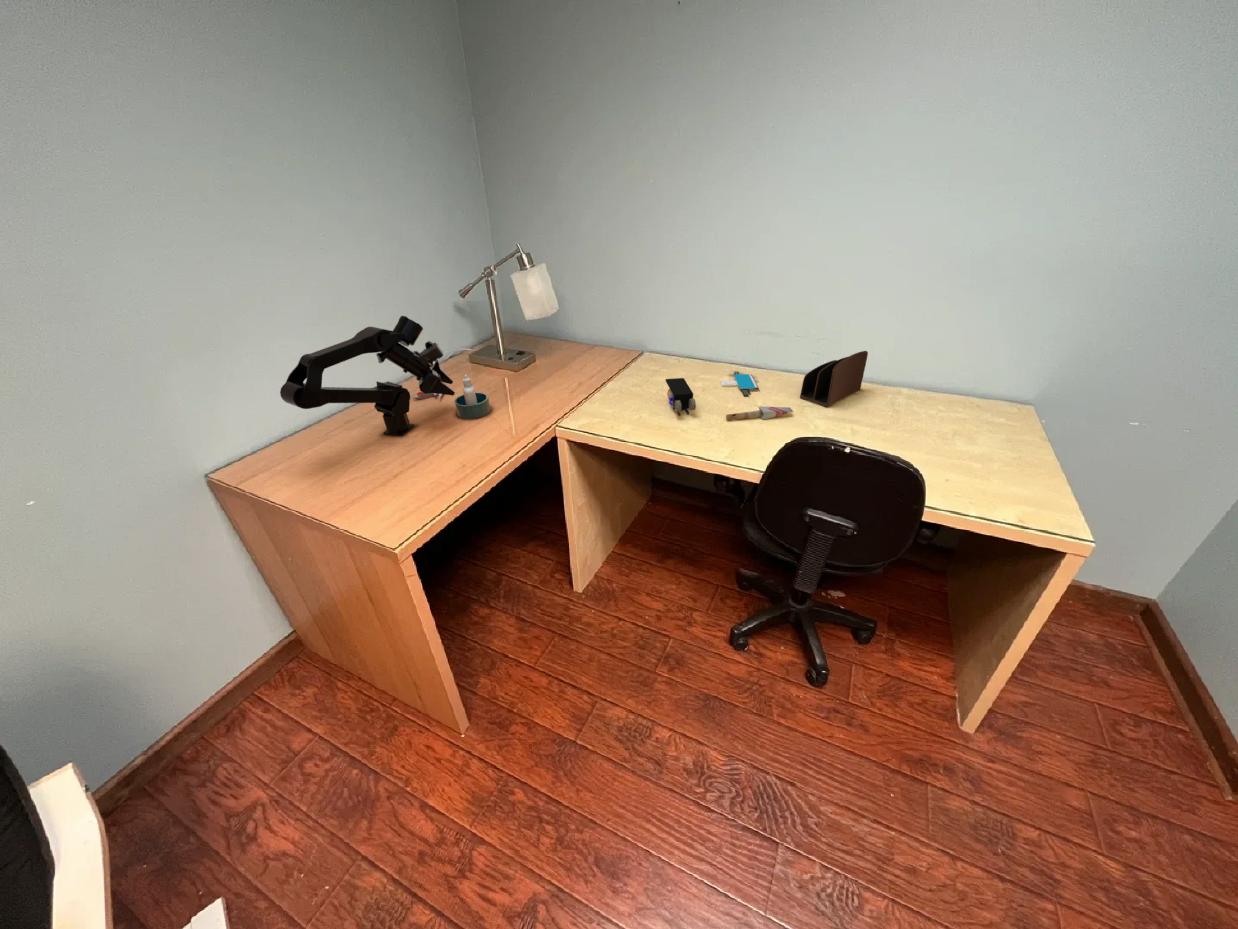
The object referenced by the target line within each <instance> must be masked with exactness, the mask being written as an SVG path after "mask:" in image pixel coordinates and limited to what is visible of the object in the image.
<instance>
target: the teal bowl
mask: <svg viewBox="0 0 1238 929" xmlns="http://www.w3.org/2000/svg"><path fill="white" fill-rule="evenodd" d="M475 394H476V399H477V404H475V405H467V406H466V402H465V397H464V393H463V394H460V395H458V396H457V397H456V398H455V399H454V407H455V410H456V414H457V416H458V417H459V418H460V419H463V420H475V419H480V418H483V417H485V416H487V415H488V414H490V413H491V405H490V399H489V396H488V394H486V393H484V392H481V391H480V392H479V391H475Z"/></svg>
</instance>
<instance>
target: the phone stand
mask: <svg viewBox="0 0 1238 929" xmlns="http://www.w3.org/2000/svg"><path fill="white" fill-rule="evenodd" d="M733 377H734V380H720V382H719V383H720V386H721V387H722V388H724V387H737V388H738V389H740V391H741V394H742V396H743V397H744V398H745V397H749V395H752V393H751V392H760V391H761V390H760V387H759V384H758V382H757V381H756V378H755V377H754V376H753V374H752V373H751V374H748V373H740V372H739V371H738V370H736V371H735V370H734V371H733Z"/></svg>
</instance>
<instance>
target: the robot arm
mask: <svg viewBox="0 0 1238 929" xmlns="http://www.w3.org/2000/svg"><path fill="white" fill-rule="evenodd" d="M423 331H424V327H423V326H422V325H421V323H418V322H416V321H414V320H412V319H410V318H409V317H407V316H406V315H400V317H399V319H398V321H397V323H396V324H395V326H394V327H393V330H389V329H386V328H380V327H375V326H367V327H364V328H363V329H361V330H360V331H358V332H357V333H356V334H355V335H354V336H353V337H352V338H349V339H347V340H344V341H341V342H339V343H336V344H333V345H330V346H328V347H327V346H326V347H324V348H322V349H319V350H317V351H314V352H311V353H305V354H303V355H301V357H300V358H299V361H298V363H297V365H296V366H295V368H293V369H292V371H291V372H290V373H289V374H288V377H287V378H286V381H285V382H284V384H282V386H281V387H280V390H279V394H280V398H281V399H282V400H283V402H284V403H287V404H289V405H291V406H293V407H297V408H300V409H303V410H309V409H316V408H320V407H323V406H325V405H328V404H374V406H373V407H374V409H375V410H376V411H377V412H378V413H382V419H383V422H384V425H385V429H386V430H385V431H383V435H387V436H397V437H398V436H400V437H402V436H403V437H404V436H405V435H406V434H407V433H408V432H409V431H411V429H414V427H415V424H414V423H410V420H409V417H408V414H407V413H410V406H411V405H410V404H411V402H410V400H411V392H410V391H409V389H408V388H405V387H403V385H402V384H398V383H396V382H395V383H394V382H391V381H384V382H381V381H375V383H376V386H374V387H341V386H340V387H338V386H337V387H335V386H322V385H323V374H324V371H325V370H326V369H328V368H331V367H333V366H336V365H339V364H342V363H344V362H346V361H349V360H352V359H353V358H356V357H359V356H361V355H365V354H375V356H376V357H377V362H378V364H382V363H384V362H385V361H386V360H387V361H389V362H391V363H393V364H394V365H396V366H397V367H399V368H401V369H402V372H403V373H405V374H407V373H409V374H410V375H412V376H414V377H415V380H417V381H418V388H419V392H423V393H425V394H427V393H429V394H430V393H436V394H442V395H446V396H455V394H456V392H455V391H454V390H453V389H452V388H451V387H449V386H448V385H447V384H449V385H452V384H453V383H454V381H453V379H452V378H451V377H450V376H449V375H448V374H447V373H446V372H445V371H444V370H443V369H442V368H441V367H440V362H439V359H442V358H443V356H444V351H443V350H442V348H441V347H440V345H439V343H437V342H433V341H430V340H428V341H426V342H425V343H424V347H425V348H424V349H423V350H422V351H421V352H420V351H418V350H411V349H409V348H408V347H409V346H415V344H416V342H417V341H418V339H419V337H420V336H421V334H422V332H423Z"/></svg>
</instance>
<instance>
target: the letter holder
mask: <svg viewBox="0 0 1238 929" xmlns="http://www.w3.org/2000/svg"><path fill="white" fill-rule="evenodd" d="M868 354H869V352H868V351H867V350H861V351H858V352H855V353H853V354H851V355H849V356H845V357H841V358H839V359H834V360H830V361H828V362H825V363H823V364H820V365H818V366H817V367H815V368H813V369H812V370H810V371H808V372H807V373H806V374H805V375H804V376H803V380H802V385H801V390H800V394H799V399H801V400H802V399H803V400H804V401H808V402H810V403H813V404H816V405H819V406H822V407H825V408H829V407H831V406H832V405H834V404H837V403H838V402H840V401H841V400H844V399H845V398H847V397H850V396H851V395H853V394H854V393H856V392H858V391H860V390H861V388H862V383H863V379H864V375H865V370H866V365H867V360H868V356H869V355H868Z"/></svg>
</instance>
